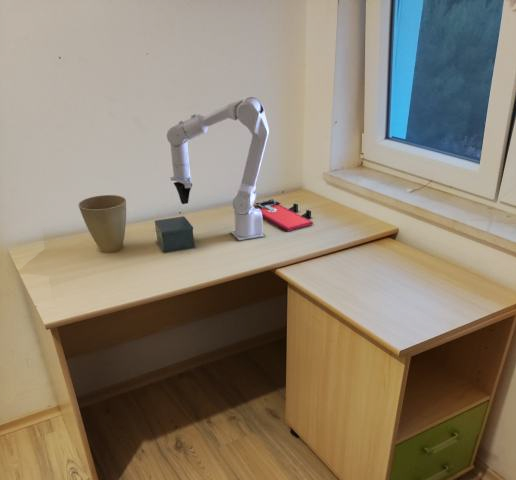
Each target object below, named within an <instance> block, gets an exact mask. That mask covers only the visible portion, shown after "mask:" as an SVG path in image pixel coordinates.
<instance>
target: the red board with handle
mask: <svg viewBox="0 0 516 480" xmlns="http://www.w3.org/2000/svg"><path fill="white" fill-rule="evenodd" d="M254 203H255V204H256V205H257V206H258V207H260V208H259V209H260V211H261V213H262V217H263V218H264V219H265V220H267V221H268V222H271V223H272V224H274V225H275V226H277V227H279V228H281V229H283V230H284V231H287V232H290V231H294V230H298V229H301V228H305V227H308V226H312V225H313V224H314V222H313V221H312V220H310V219H312V211H311V210H309V209H306V210H305V213H303V214H301V215H300V214H299V204H298V203H293V204H292V205H293V206H291V207H289V208H287V207H285V206H283V205H282V203H281V202H279V201H276V200H274V199H273V198H272V199H268V200H263V201H259V202H254Z"/></svg>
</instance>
